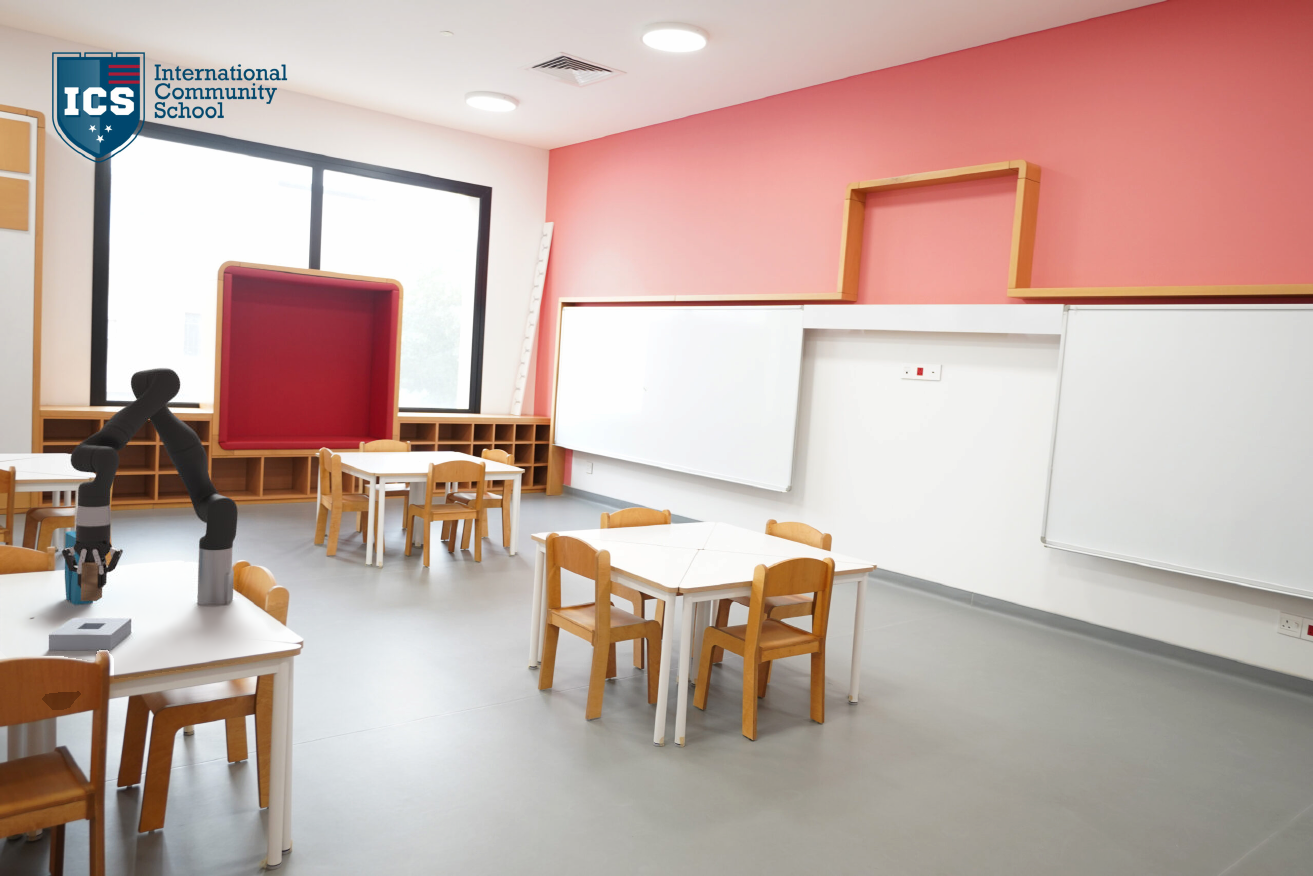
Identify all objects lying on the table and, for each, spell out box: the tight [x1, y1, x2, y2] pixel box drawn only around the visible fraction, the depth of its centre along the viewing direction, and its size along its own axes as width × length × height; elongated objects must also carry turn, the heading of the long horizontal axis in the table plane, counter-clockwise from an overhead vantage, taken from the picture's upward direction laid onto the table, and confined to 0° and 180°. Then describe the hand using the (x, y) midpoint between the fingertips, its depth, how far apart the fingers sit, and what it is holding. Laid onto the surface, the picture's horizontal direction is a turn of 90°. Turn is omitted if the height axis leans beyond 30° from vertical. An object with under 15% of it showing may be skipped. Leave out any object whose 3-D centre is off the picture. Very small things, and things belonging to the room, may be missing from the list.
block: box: [64, 530, 94, 606], centre depth 258 cm, size 12×5×20 cm, turn 50°
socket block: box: [48, 617, 132, 651], centre depth 226 cm, size 14×14×4 cm
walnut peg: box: [81, 561, 103, 602], centre depth 225 cm, size 4×4×10 cm
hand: (91, 587), depth 225 cm, fingers closed on walnut peg, 3 cm apart
